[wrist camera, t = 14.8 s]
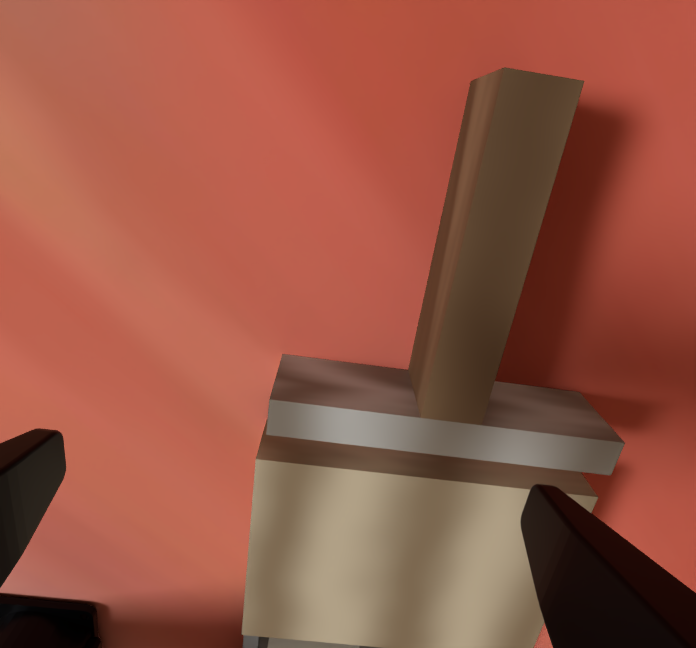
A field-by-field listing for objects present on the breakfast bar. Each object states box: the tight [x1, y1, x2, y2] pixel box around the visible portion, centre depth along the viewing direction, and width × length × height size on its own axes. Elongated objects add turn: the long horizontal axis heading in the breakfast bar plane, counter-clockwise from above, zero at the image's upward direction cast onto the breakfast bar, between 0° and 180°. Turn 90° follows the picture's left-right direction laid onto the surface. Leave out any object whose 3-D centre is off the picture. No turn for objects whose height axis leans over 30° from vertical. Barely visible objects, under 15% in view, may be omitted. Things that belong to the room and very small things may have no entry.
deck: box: [242, 419, 598, 648], centre depth 24 cm, size 15×11×3 cm
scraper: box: [266, 68, 625, 475], centre depth 18 cm, size 14×14×4 cm
